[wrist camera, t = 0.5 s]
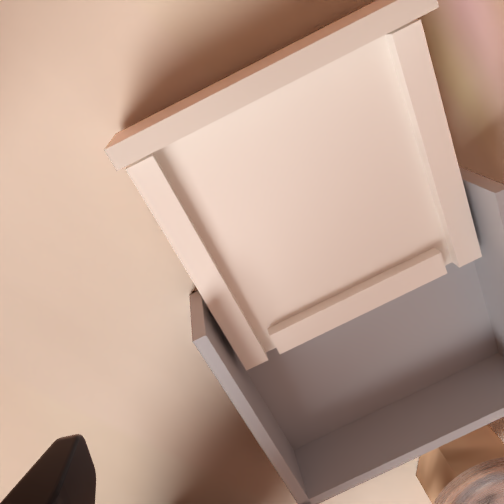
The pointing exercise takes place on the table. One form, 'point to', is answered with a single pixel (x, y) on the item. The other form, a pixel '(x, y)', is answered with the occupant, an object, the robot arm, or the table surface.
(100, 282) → the table surface
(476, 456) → the pedestal
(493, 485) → the disc
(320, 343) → the housing
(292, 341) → the tray
